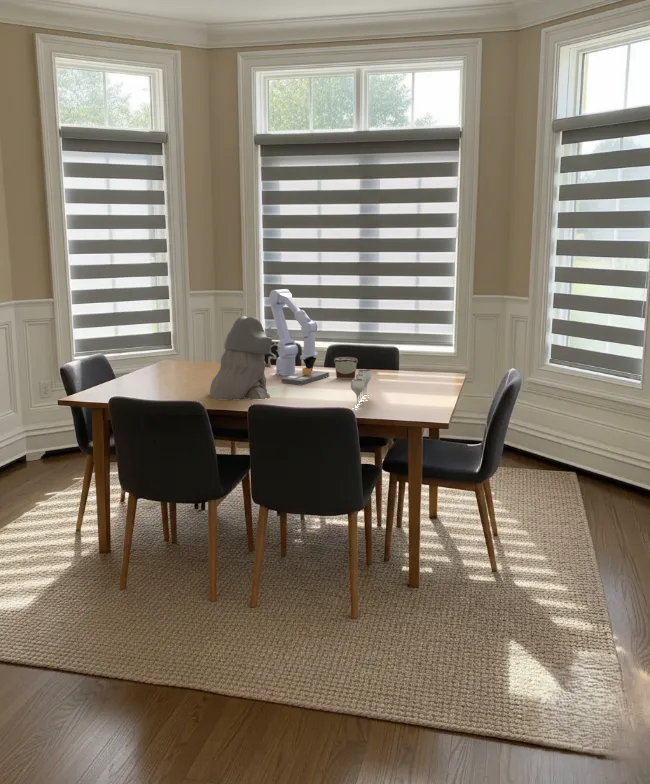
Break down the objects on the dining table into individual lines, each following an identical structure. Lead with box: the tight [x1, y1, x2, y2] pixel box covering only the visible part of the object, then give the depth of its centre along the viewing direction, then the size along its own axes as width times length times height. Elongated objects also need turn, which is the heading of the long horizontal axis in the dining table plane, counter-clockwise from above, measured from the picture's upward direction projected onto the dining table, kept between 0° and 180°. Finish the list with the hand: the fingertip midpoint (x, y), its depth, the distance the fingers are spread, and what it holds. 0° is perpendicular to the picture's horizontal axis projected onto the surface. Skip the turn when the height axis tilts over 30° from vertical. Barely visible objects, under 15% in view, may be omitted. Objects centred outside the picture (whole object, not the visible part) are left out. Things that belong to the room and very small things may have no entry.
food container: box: [333, 356, 359, 379], centre depth 374 cm, size 12×6×10 cm, turn 84°
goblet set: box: [350, 368, 372, 410], centre depth 317 cm, size 28×6×13 cm, turn 168°
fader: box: [301, 367, 313, 375], centre depth 370 cm, size 4×2×3 cm, turn 60°
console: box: [281, 370, 330, 386], centre depth 369 cm, size 12×26×2 cm, turn 150°
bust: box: [209, 315, 281, 401], centre depth 334 cm, size 34×34×35 cm
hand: (309, 371), depth 372 cm, fingers closed
